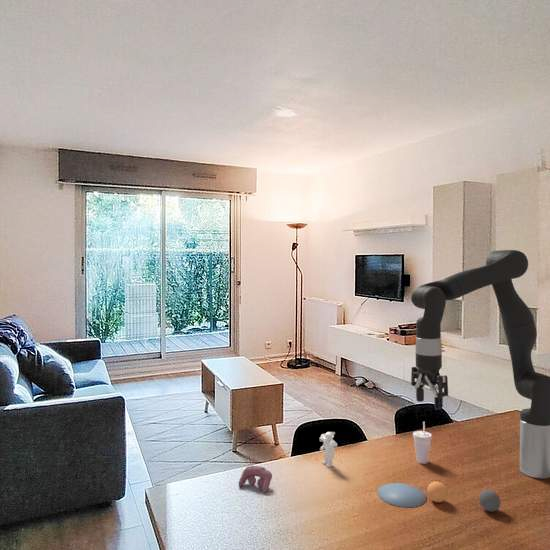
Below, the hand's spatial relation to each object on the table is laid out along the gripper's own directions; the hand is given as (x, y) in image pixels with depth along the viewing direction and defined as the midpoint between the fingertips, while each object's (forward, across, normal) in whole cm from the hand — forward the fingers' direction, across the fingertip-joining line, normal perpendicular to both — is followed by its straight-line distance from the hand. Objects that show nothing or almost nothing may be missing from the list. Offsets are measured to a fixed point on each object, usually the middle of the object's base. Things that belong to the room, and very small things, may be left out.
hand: (429, 405), depth 139 cm
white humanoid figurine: (+26, +27, +21) cm, 43 cm away
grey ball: (+24, -15, -9) cm, 29 cm away
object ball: (+24, -6, +2) cm, 24 cm away
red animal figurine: (+26, +21, +49) cm, 59 cm away
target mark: (+26, +1, +10) cm, 28 cm away
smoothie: (+27, +18, -11) cm, 34 cm away
